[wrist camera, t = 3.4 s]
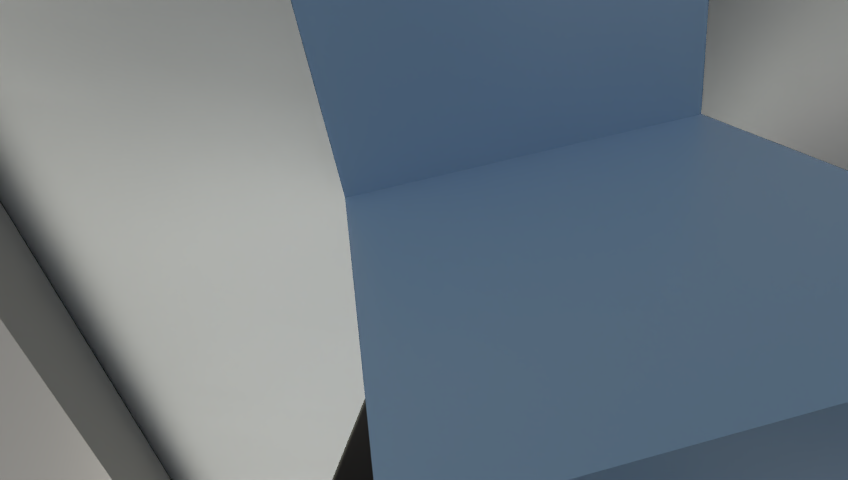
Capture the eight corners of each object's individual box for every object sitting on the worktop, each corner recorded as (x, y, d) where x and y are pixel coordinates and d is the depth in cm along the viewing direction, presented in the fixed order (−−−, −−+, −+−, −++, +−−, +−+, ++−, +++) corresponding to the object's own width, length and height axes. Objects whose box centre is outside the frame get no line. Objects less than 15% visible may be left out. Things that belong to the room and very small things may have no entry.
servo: (605, -79, 7) (2104, -321, 1) (614, 479, 12) (883, 950, 6) (297, -15, 7) (127, 110, 1) (442, 527, 12) (558, 1064, 6)
